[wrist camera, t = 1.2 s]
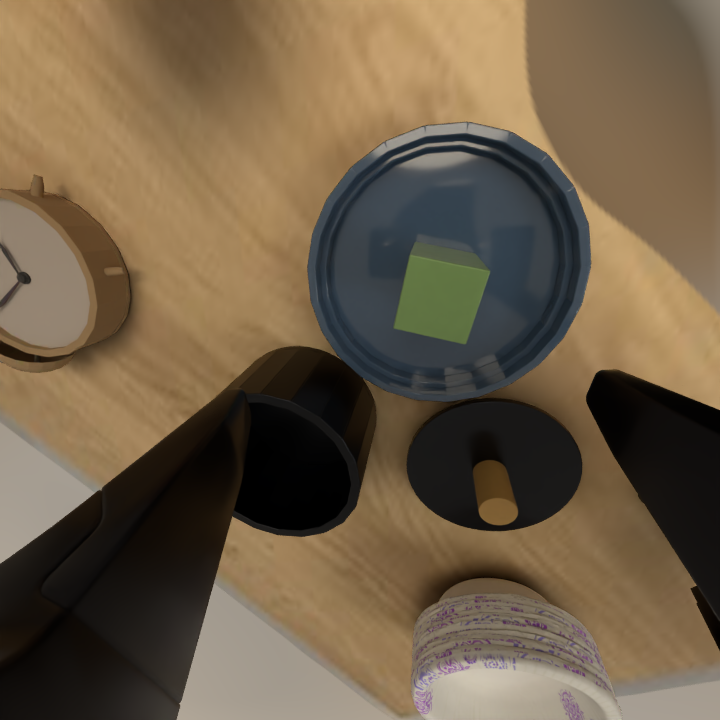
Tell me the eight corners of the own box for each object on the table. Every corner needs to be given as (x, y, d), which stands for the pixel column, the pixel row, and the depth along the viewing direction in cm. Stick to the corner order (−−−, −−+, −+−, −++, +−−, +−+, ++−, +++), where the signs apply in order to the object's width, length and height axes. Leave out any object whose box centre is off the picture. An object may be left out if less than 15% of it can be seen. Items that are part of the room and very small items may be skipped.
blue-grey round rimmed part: (637, 223, 18) (666, 226, 16) (467, 418, 25) (471, 439, 23) (392, 73, 17) (386, 54, 15) (286, 316, 24) (272, 327, 22)
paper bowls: (541, 670, 36) (568, 786, 29) (399, 625, 37) (392, 725, 30) (615, 585, 29) (674, 709, 22) (438, 534, 30) (440, 635, 23)
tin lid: (617, 448, 24) (656, 502, 19) (503, 541, 29) (515, 598, 25) (466, 362, 23) (474, 398, 19) (380, 473, 29) (371, 520, 24)
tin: (403, 394, 25) (394, 458, 19) (338, 485, 30) (314, 560, 24) (269, 318, 24) (213, 358, 18) (225, 424, 30) (171, 484, 23)
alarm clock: (132, 296, 22) (3, 414, 26) (174, 287, 27) (60, 388, 30) (-14, 139, 20) (-136, 293, 23) (61, 159, 24) (-50, 285, 28)
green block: (476, 253, 20) (490, 270, 15) (457, 312, 21) (465, 345, 16) (414, 241, 20) (409, 254, 15) (401, 300, 22) (392, 328, 17)
